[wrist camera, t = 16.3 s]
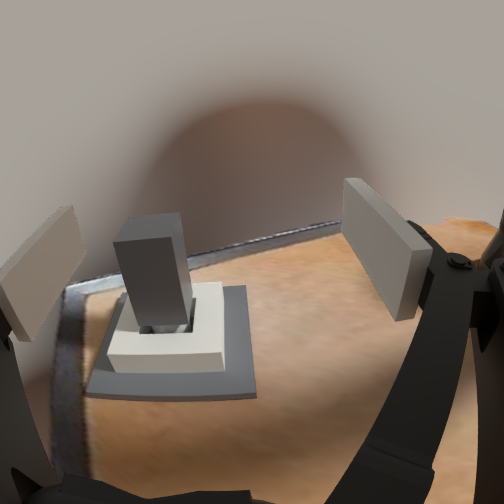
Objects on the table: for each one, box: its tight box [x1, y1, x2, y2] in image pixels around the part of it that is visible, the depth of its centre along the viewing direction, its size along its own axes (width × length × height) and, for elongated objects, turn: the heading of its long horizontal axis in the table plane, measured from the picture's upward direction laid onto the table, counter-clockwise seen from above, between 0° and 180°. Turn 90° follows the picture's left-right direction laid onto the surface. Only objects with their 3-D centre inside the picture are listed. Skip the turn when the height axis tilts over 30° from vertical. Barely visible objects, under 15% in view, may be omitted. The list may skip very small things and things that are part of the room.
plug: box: [113, 212, 193, 334], centre depth 33 cm, size 6×6×14 cm
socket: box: [86, 281, 257, 401], centre depth 36 cm, size 18×18×4 cm
